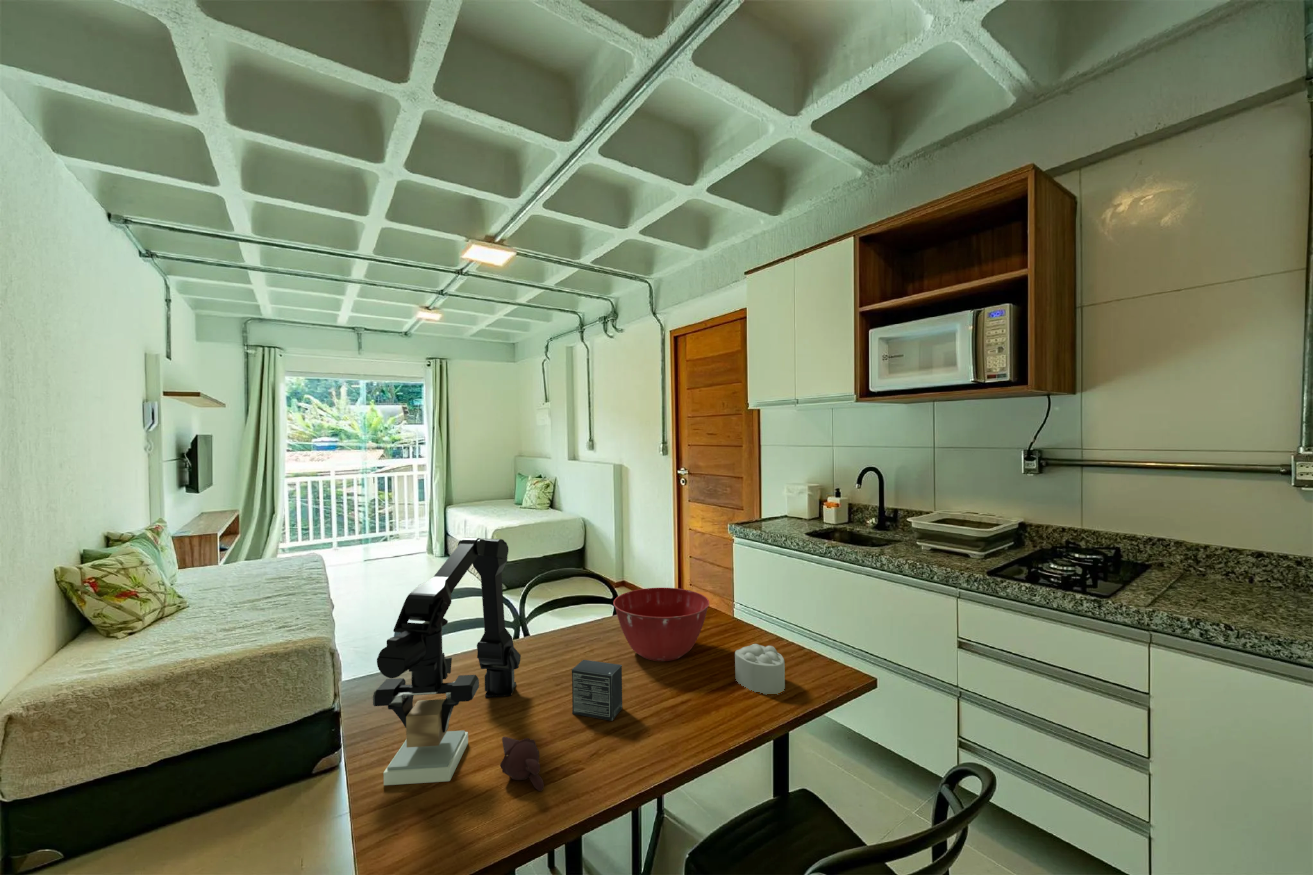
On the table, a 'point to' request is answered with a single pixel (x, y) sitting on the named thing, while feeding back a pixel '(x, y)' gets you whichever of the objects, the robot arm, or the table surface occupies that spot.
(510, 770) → the maroon toy figure
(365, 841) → the table surface
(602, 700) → the small box
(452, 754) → the pedestal
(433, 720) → the oak cube
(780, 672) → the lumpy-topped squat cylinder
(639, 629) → the mixing bowl
